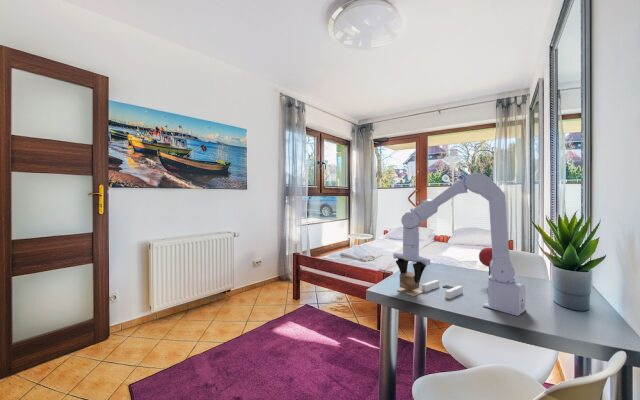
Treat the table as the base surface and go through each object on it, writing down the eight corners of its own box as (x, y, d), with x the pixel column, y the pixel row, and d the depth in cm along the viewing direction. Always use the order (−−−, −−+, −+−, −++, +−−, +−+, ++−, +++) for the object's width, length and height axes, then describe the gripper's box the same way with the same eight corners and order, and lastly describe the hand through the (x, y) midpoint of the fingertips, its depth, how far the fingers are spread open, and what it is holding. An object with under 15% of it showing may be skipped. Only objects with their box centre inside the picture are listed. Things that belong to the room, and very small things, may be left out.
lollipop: (500, 288, 104) (500, 250, 104) (477, 284, 109) (477, 248, 109) (501, 283, 110) (501, 247, 110) (480, 280, 115) (480, 245, 115)
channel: (462, 293, 99) (462, 286, 99) (449, 299, 93) (449, 292, 93) (435, 286, 107) (435, 279, 107) (421, 291, 101) (421, 284, 101)
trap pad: (461, 289, 103) (461, 289, 103) (457, 291, 101) (457, 290, 101) (446, 285, 108) (446, 285, 108) (442, 287, 106) (442, 286, 106)
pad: (424, 292, 100) (424, 291, 100) (413, 296, 95) (413, 295, 95) (408, 287, 105) (408, 286, 105) (397, 290, 101) (397, 289, 101)
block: (419, 287, 99) (419, 274, 99) (411, 290, 96) (411, 277, 96) (407, 284, 103) (407, 271, 103) (399, 287, 100) (399, 274, 100)
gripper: (434, 245, 97) (434, 283, 97) (400, 241, 109) (400, 274, 109) (424, 247, 93) (423, 287, 93) (389, 242, 104) (389, 277, 104)
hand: (410, 280), depth 100 cm, fingers closed on block, 5 cm apart
